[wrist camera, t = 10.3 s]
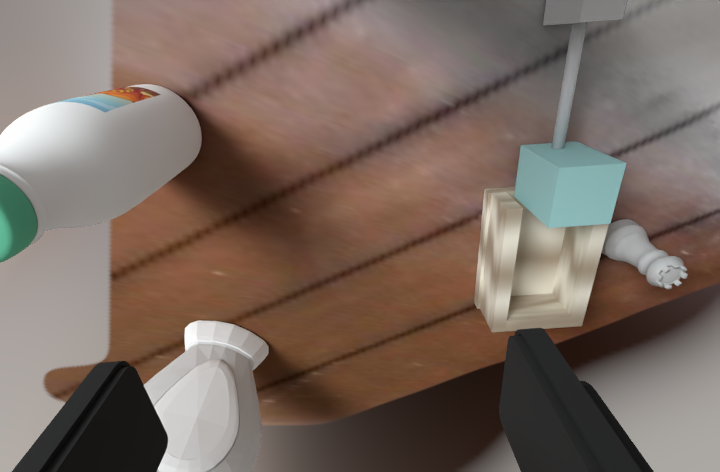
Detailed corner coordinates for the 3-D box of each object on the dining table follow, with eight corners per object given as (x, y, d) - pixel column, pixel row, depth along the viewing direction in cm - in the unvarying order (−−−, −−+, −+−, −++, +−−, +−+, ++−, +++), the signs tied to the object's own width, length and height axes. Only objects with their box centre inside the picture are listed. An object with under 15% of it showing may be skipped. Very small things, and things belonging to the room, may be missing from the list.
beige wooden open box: (484, 188, 37) (503, 209, 33) (584, 181, 37) (618, 201, 33) (474, 302, 44) (489, 332, 39) (559, 295, 44) (584, 325, 39)
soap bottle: (165, 352, 46) (3, 627, 24) (179, 305, 43) (8, 573, 21) (267, 380, 49) (203, 651, 27) (287, 339, 46) (232, 606, 24)
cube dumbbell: (536, -18, 29) (596, -37, 22) (599, -22, 29) (681, -43, 22) (509, 192, 37) (548, 228, 30) (559, 188, 37) (610, 223, 30)
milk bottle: (210, 100, 33) (49, 169, 15) (198, 180, 36) (53, 313, 18) (117, 69, 32) (-178, 105, 14) (113, 155, 35) (-130, 273, 17)
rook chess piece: (588, 233, 40) (640, 274, 33) (629, 209, 39) (692, 246, 32) (603, 261, 42) (656, 305, 35) (643, 239, 41) (705, 280, 34)
